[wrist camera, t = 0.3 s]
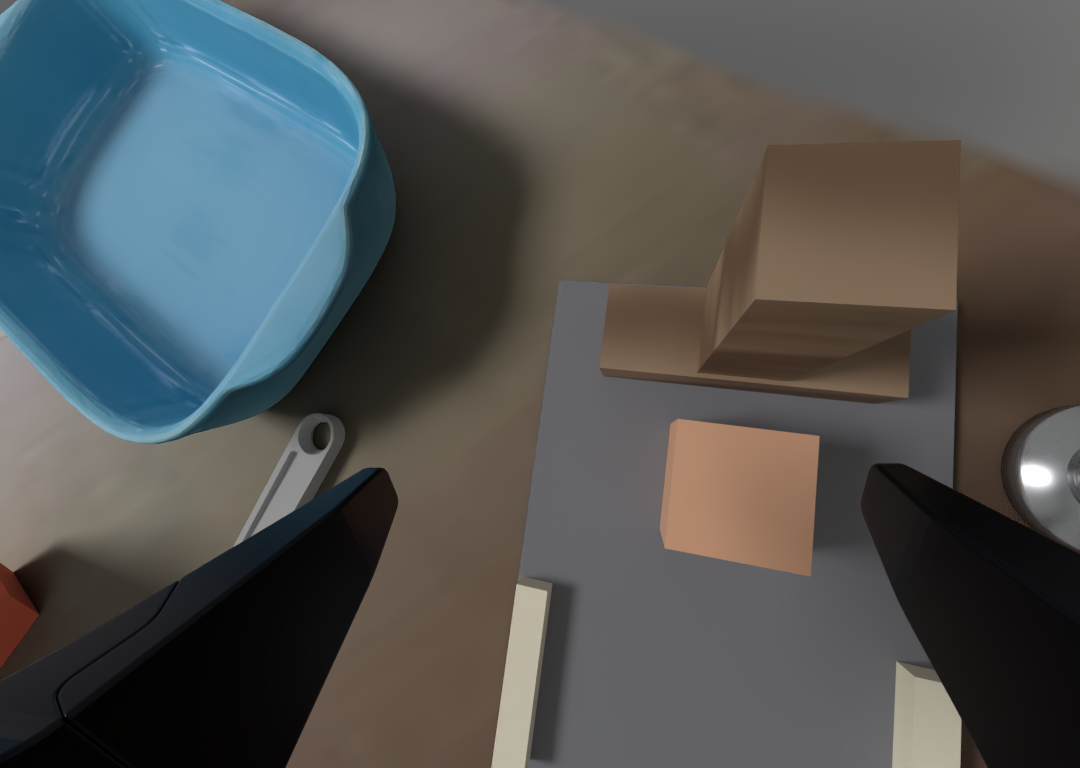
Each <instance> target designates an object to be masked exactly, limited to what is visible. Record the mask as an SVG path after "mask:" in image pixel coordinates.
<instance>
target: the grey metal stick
mask: <svg viewBox="0 0 1080 768" xmlns="http://www.w3.org/2000/svg"><path fill="white" fill-rule="evenodd" d="M1001 474H1002V481H1003V486H1004V489H1005V491H1006V494H1007V497H1008V499H1009V500H1010V502H1011V504H1012V506H1013V507H1014V509H1015V510H1016V512H1017V513H1018V514H1019V516H1020V517H1021V518H1022V519H1023V520H1024V521H1025V522H1026V523H1027V524H1028V525H1029V526H1030V527H1031V528H1033V529H1034V530H1035V531H1036V532H1038V533H1040V534H1042V535H1044V536H1046V537H1048V538H1050V539H1051V540H1053V541H1055V542H1057V543H1059V544H1061V545H1063V546H1065V547H1067V548H1069V549H1071V550H1073V551H1075V552H1078V553H1080V405H1074V406H1065V407H1059V408H1055V409H1051V410H1048V411H1045V412H1043V413H1040V414H1038V415H1036V416H1034V417H1033V418H1031V419H1029V420H1028V421H1026V422H1025V423H1024V424H1023V425H1021V426H1020V427H1019V428H1018V429H1017V430H1016V431H1015V432H1014V434H1013V435H1012V436H1011V438H1010V439H1009V441H1008V443H1007V445H1006V447H1005V450H1004V453H1003V457H1002V464H1001Z"/></svg>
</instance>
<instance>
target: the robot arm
mask: <svg viewBox="0 0 1080 768" xmlns="http://www.w3.org/2000/svg"><path fill="white" fill-rule="evenodd" d="M397 506H398V497H397V494H396V491H395V489H394V487H393V484H392V482H391V479H390V477H389V474H388V472H387V471H386V470H385V469H384V468H365V469H363V470H361V471H359V472H358V473H356V474H354V475H353V476H351V477H349V478H348V479H346V480H344V481H343V482H341V483H339V484H338V485H336V486H334V487H333V488H331V489H329V490H328V491H326V492H324V493H323V494H321V495H319V496H318V497H316V498H314V499H313V500H311V501H309V502H308V503H306V504H304V505H303V506H301V507H299V508H298V509H296V510H294V511H293V512H291V513H289V514H288V515H286V516H284V517H283V518H281V519H279V520H278V521H276V522H274V523H273V524H271V525H269V526H268V527H266V528H264V529H263V530H261V531H259V532H258V533H256V534H254V535H253V536H251V537H249V538H248V539H246V540H244V541H243V542H241V543H239V544H238V545H236V546H234V547H233V548H231V549H229V550H228V551H226V552H224V553H223V554H221V555H219V556H218V557H216V558H214V559H213V560H211V561H209V562H208V563H206V564H204V565H203V566H201V567H199V568H198V569H196V570H194V571H193V572H191V573H189V574H188V575H186V576H184V577H183V578H182V579H181V580H180V581H176V582H174V583H172V584H171V585H169V586H167V587H166V588H164V589H162V590H161V591H159V592H157V593H156V594H154V595H152V596H151V597H149V598H147V599H146V600H144V601H142V602H140V603H139V604H137V605H135V606H134V607H132V608H130V609H129V610H127V611H125V612H123V613H122V614H120V615H118V616H117V617H115V618H113V619H111V620H110V621H108V622H106V623H104V624H102V625H101V626H99V627H97V628H95V629H93V630H92V631H90V632H88V633H86V634H84V635H83V636H81V637H79V638H77V639H75V640H74V641H72V642H70V643H68V644H66V645H65V646H63V647H61V648H59V649H57V650H55V651H54V652H52V653H50V654H48V655H46V656H44V657H43V658H41V659H39V660H37V661H35V662H34V663H32V664H30V665H28V666H26V667H24V668H23V669H21V670H19V671H17V672H15V673H13V674H12V675H10V676H8V677H6V678H4V679H2V680H1V681H0V768H285V767H286V765H287V763H288V761H289V759H290V757H291V754H292V752H293V750H294V748H295V746H296V744H297V741H298V739H299V737H300V735H301V733H302V730H303V728H304V726H305V724H306V722H307V720H308V717H309V715H310V713H311V711H312V709H313V707H314V704H315V702H316V700H317V698H318V696H319V693H320V691H321V689H322V687H323V685H324V683H325V680H326V678H327V676H328V674H329V672H330V670H331V667H332V665H333V663H334V661H335V659H336V656H337V654H338V652H339V650H340V648H341V646H342V643H343V641H344V639H345V637H346V635H347V633H348V630H349V628H350V626H351V624H352V622H353V619H354V617H355V615H356V613H357V611H358V609H359V606H360V604H361V602H362V600H363V598H364V596H365V593H366V591H367V589H368V587H369V585H370V582H371V580H372V578H373V575H374V573H375V570H376V567H377V565H378V562H379V559H380V556H381V553H382V551H383V548H384V545H385V542H386V539H387V536H388V533H389V530H390V528H391V525H392V522H393V519H394V516H395V513H396V510H397ZM860 507H861V512H862V516H863V518H864V520H865V523H866V525H867V528H868V530H869V533H870V535H871V538H872V540H873V542H874V545H875V547H876V550H877V552H878V555H879V557H880V560H881V562H882V564H883V567H884V569H885V572H886V574H887V577H888V579H889V581H890V584H891V586H892V589H893V591H894V593H895V595H896V598H897V600H898V602H899V604H900V606H901V608H902V610H903V612H904V614H905V616H906V618H907V620H908V622H909V624H910V625H911V627H912V629H913V631H914V633H915V635H916V636H917V638H918V640H919V642H920V644H921V646H922V648H923V649H924V651H925V653H926V655H927V657H928V659H929V660H930V662H931V664H932V666H933V668H934V670H935V671H936V673H937V675H938V677H939V679H940V681H941V683H942V684H943V686H944V688H945V690H946V692H947V694H948V695H949V697H950V699H951V701H952V703H953V705H954V706H955V708H956V710H957V712H958V714H959V716H960V718H961V719H962V721H963V723H964V725H965V727H966V729H967V730H968V732H969V734H970V736H971V738H972V740H973V741H974V743H975V745H976V747H977V749H978V751H979V753H980V754H981V756H982V758H983V760H984V762H985V764H986V765H987V767H988V768H1080V554H1079V553H1077V552H1075V551H1073V550H1071V549H1069V548H1067V547H1065V546H1063V545H1061V544H1059V543H1057V542H1055V541H1053V540H1051V539H1050V538H1048V537H1046V536H1044V535H1042V534H1040V533H1038V532H1036V531H1034V530H1032V529H1030V528H1028V527H1026V526H1024V525H1022V524H1020V523H1018V522H1016V521H1014V520H1012V519H1011V518H1009V517H1007V516H1005V515H1003V514H1001V513H999V512H997V511H995V510H993V509H991V508H989V507H987V506H985V505H983V504H981V503H979V502H977V501H975V500H973V499H972V498H970V497H968V496H966V495H964V494H962V493H960V492H958V491H956V490H954V489H952V488H950V487H948V486H946V485H944V484H942V483H940V482H938V481H936V480H934V479H933V478H931V477H929V476H927V475H925V474H923V473H921V472H919V471H917V470H915V469H913V468H911V467H909V466H907V465H905V464H902V463H876V464H873V465H872V466H871V467H870V468H869V470H868V473H867V477H866V481H865V485H864V488H863V492H862V496H861V500H860Z"/></svg>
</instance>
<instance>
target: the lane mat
mask: <svg viewBox="0 0 1080 768" xmlns="http://www.w3.org/2000/svg"><path fill="white" fill-rule="evenodd" d="M610 284H624V283H603V282H583V281H562V280H559V287H558V294H557V301H556V309H555V316H554V323H553V331H552V338H551V345H550V352H549V360H548V367H547V374H546V381H545V389H544V396H543V403H542V410H541V418H540V425H539V432H538V439H537V447H536V454H535V461H534V468H533V476H532V483H531V490H530V497H529V505H528V512H527V519H526V526H525V534H524V541H523V548H522V555H521V563H520V570H519V577H518V583H517V587H516V594H515V601H514V608H513V616H512V623H511V630H510V637H509V644H508V652H507V659H506V666H505V673H504V681H503V688H502V695H501V702H500V710H499V717H498V724H497V731H496V739H495V746H494V753H493V760H492V768H960V760H961V718H960V716H959V714H958V712H957V710H956V708H955V706H954V705H953V703H952V701H951V699H950V697H949V695H948V694H947V692H946V690H945V688H944V686H943V684H942V683H941V681H940V679H939V677H938V675H937V673H936V671H935V670H934V668H933V666H932V664H931V662H930V660H929V659H928V657H927V655H926V653H925V651H924V649H923V648H922V646H921V644H920V642H919V640H918V638H917V636H916V635H915V633H914V631H913V629H912V627H911V625H910V624H909V622H908V620H907V618H906V616H905V614H904V612H903V610H902V608H901V606H900V604H899V602H898V600H897V598H896V595H895V593H894V591H893V589H892V586H891V584H890V581H889V579H888V577H887V574H886V572H885V569H884V567H883V564H882V562H881V560H880V557H879V555H878V552H877V550H876V547H875V545H874V542H873V540H872V538H871V535H870V533H869V530H868V528H867V525H866V523H865V520H864V518H863V516H862V512H861V507H860V500H861V496H862V492H863V488H864V485H865V481H866V477H867V473H868V470H869V468H870V467H871V466H872V465H873V464H876V463H902V464H905V465H907V466H909V467H911V468H913V469H915V470H917V471H919V472H921V473H923V474H925V475H927V476H929V477H931V478H933V479H934V480H936V481H938V482H940V483H942V484H944V485H946V486H948V487H950V488H952V489H953V459H954V423H955V387H956V351H957V314H958V300H956V310H955V311H953V312H950V313H948V314H946V315H943V316H941V317H938V318H936V319H934V320H931V321H929V322H927V323H924V324H922V325H920V326H917V327H915V328H913V329H911V345H910V370H909V395H908V398H905V399H899V400H894V401H888V402H882V403H877V404H869V403H859V402H849V401H840V400H830V399H820V398H810V397H801V396H791V395H781V394H771V393H761V392H752V391H742V390H732V389H722V388H713V387H703V386H693V385H683V384H674V383H664V382H654V381H644V380H635V379H625V378H615V377H605V376H603V374H602V372H601V370H600V368H599V366H600V357H601V349H602V341H603V333H604V325H605V317H606V309H607V301H608V293H609V285H610ZM627 285H644V284H627ZM647 286H664V285H647ZM667 287H685V286H667ZM688 288H705V287H688ZM677 419H684V420H692V421H700V422H709V423H717V424H725V425H733V426H742V427H750V428H758V429H766V430H775V431H783V432H791V433H799V434H807V435H816V436H820V438H819V454H818V470H817V485H816V501H815V517H814V533H813V549H812V564H811V577H810V576H805V575H800V574H795V573H789V572H784V571H779V570H774V569H769V568H764V567H758V566H753V565H748V564H743V563H738V562H733V561H728V560H722V559H717V558H712V557H707V556H702V555H697V554H691V553H686V552H681V551H676V550H671V549H666V548H665V547H664V543H663V539H662V536H661V532H660V521H661V511H662V501H663V492H664V482H665V472H666V463H667V453H668V443H669V434H670V424H671V423H672V422H674V421H675V420H677Z"/></svg>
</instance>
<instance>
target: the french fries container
mask: <svg viewBox="0 0 1080 768" xmlns="http://www.w3.org/2000/svg"><path fill="white" fill-rule="evenodd" d="M38 616H39V613H38V612H37V610H36V608H35V607H34V605H33V604H32V602H31V600H30V599H29V597H28V596H27V594H26V592H25V591H24V589H23V587H22V586H21V584H20V583H19V581H18V579H17V578H16V576H15V575H14V573H13V572H12V571H11V570H9V569H8V568H7V567H5V566H4V565H2V564H1V563H0V668H1V667H2V666H3V664H4V663H5V662H6V660H7V659H8V657H9V656H10V655H11V653H12V652H13V651H14V649H15V648H16V646H17V645H18V644H19V642H20V641H21V640H22V638H23V637H24V635H25V634H26V633H27V631H28V630H29V629H30V627H31V626H32V624H33V623H34V622H35V620H36V619H37V618H38Z"/></svg>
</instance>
